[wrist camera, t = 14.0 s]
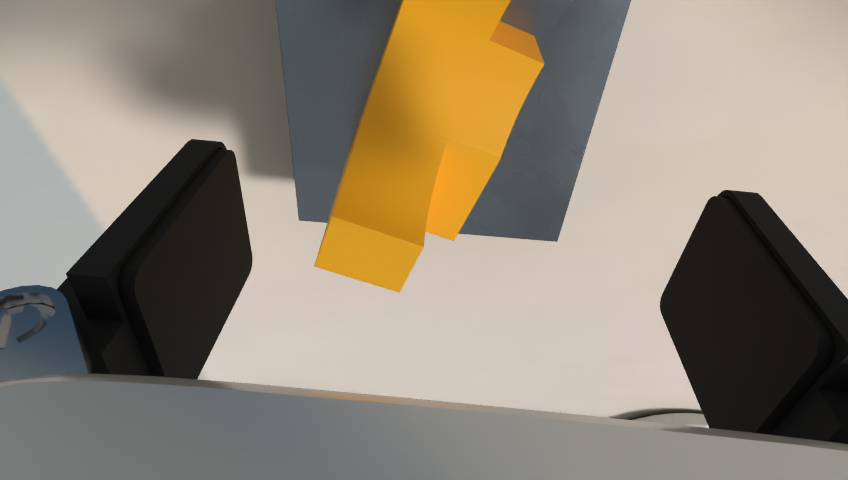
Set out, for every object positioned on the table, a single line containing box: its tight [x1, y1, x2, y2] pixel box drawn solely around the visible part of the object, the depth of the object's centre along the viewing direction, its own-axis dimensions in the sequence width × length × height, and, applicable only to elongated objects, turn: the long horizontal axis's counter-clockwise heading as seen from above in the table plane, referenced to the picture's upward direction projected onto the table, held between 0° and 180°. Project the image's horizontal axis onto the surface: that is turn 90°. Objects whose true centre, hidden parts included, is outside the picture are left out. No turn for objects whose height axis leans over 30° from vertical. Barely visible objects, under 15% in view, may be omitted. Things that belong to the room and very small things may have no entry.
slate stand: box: [276, 0, 631, 242], centre depth 18 cm, size 16×11×3 cm
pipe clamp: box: [315, 0, 544, 292], centre depth 14 cm, size 12×4×6 cm, turn 158°
